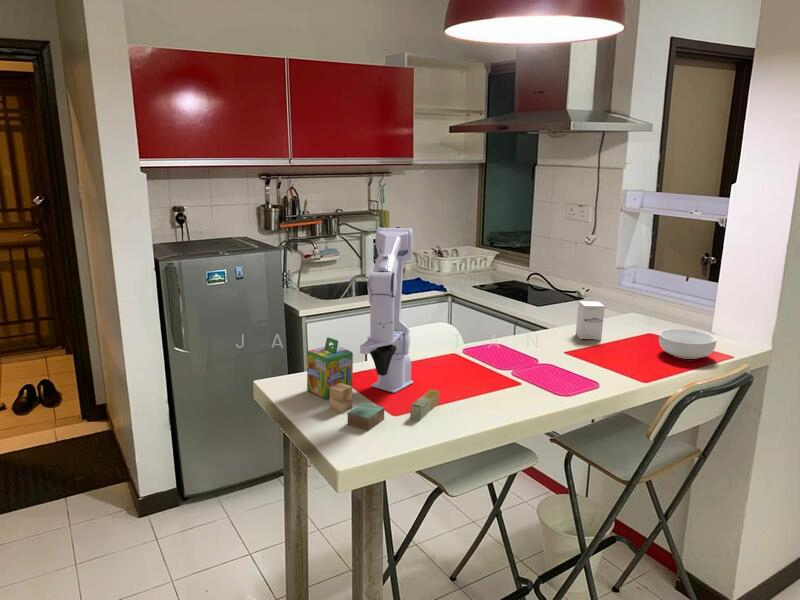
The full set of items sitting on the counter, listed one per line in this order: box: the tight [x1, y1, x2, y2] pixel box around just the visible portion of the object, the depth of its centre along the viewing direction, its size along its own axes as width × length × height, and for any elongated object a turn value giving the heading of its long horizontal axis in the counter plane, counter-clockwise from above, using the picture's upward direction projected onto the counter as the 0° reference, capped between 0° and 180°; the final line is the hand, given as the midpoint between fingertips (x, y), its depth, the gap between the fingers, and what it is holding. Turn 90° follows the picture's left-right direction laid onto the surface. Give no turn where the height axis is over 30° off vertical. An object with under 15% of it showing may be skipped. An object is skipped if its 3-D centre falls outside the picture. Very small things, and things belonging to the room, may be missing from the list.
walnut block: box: [347, 402, 385, 432], centre depth 145 cm, size 4×6×7 cm
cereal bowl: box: [658, 328, 717, 359], centre depth 194 cm, size 17×17×7 cm
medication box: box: [409, 388, 440, 422], centre depth 151 cm, size 12×3×4 cm, turn 153°
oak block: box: [329, 383, 353, 414], centre depth 152 cm, size 4×4×6 cm
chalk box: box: [306, 336, 354, 401], centre depth 162 cm, size 9×9×15 cm
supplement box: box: [575, 300, 606, 341], centre depth 213 cm, size 7×7×13 cm
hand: (382, 374), depth 148 cm, fingers closed
